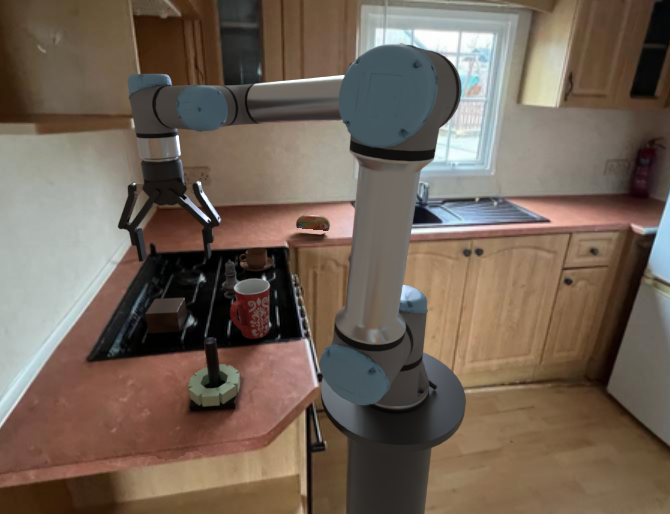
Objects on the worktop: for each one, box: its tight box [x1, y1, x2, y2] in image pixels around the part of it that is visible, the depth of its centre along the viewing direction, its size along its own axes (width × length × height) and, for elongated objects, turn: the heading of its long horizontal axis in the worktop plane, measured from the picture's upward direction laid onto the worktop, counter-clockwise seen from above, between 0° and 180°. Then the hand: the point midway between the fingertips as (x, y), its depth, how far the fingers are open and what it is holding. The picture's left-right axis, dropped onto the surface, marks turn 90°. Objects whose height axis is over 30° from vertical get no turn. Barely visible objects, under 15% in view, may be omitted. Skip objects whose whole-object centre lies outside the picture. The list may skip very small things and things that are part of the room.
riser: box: [144, 297, 188, 334], centre depth 111 cm, size 8×8×6 cm
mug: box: [229, 278, 271, 340], centre depth 105 cm, size 13×9×14 cm
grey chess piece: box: [221, 259, 241, 299], centre depth 126 cm, size 6×6×12 cm
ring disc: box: [187, 363, 241, 406], centre depth 86 cm, size 10×10×2 cm
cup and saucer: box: [238, 247, 275, 272], centre depth 147 cm, size 12×12×6 cm
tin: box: [295, 214, 331, 232], centre depth 180 cm, size 15×3×8 cm, turn 76°
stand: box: [188, 336, 242, 413], centre depth 85 cm, size 9×9×14 cm
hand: (176, 258), depth 88 cm, fingers open, 13 cm apart
